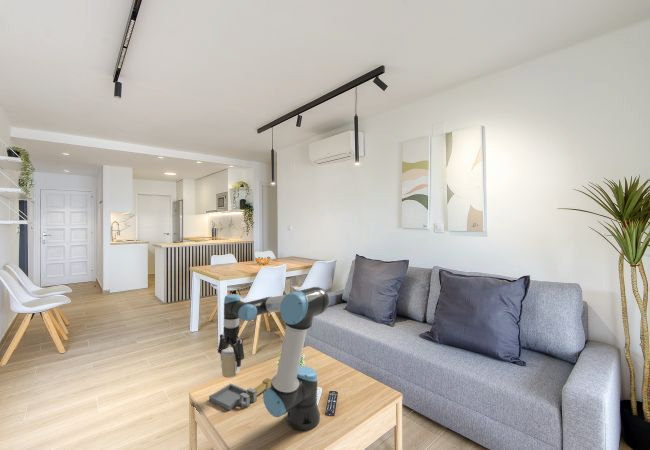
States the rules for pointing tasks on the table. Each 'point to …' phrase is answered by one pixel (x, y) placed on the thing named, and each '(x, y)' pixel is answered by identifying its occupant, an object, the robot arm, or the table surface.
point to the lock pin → (262, 387)
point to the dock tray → (233, 397)
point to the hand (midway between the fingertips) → (230, 369)
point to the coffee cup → (228, 362)
